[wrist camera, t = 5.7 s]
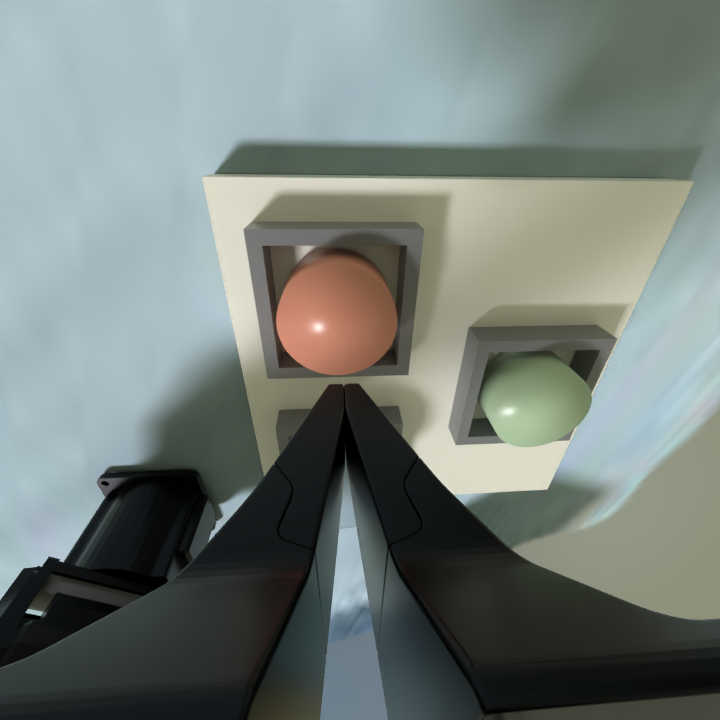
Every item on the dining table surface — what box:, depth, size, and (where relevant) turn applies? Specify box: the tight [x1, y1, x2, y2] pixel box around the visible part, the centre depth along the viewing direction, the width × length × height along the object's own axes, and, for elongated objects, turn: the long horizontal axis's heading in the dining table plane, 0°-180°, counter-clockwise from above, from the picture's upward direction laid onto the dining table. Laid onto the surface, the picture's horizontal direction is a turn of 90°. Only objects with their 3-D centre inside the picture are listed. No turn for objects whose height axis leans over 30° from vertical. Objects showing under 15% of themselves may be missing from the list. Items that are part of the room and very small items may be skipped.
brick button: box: [276, 248, 397, 375], centre depth 15 cm, size 5×5×2 cm
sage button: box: [478, 351, 592, 447], centre depth 18 cm, size 5×5×2 cm
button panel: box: [202, 174, 694, 494], centre depth 19 cm, size 20×20×3 cm
